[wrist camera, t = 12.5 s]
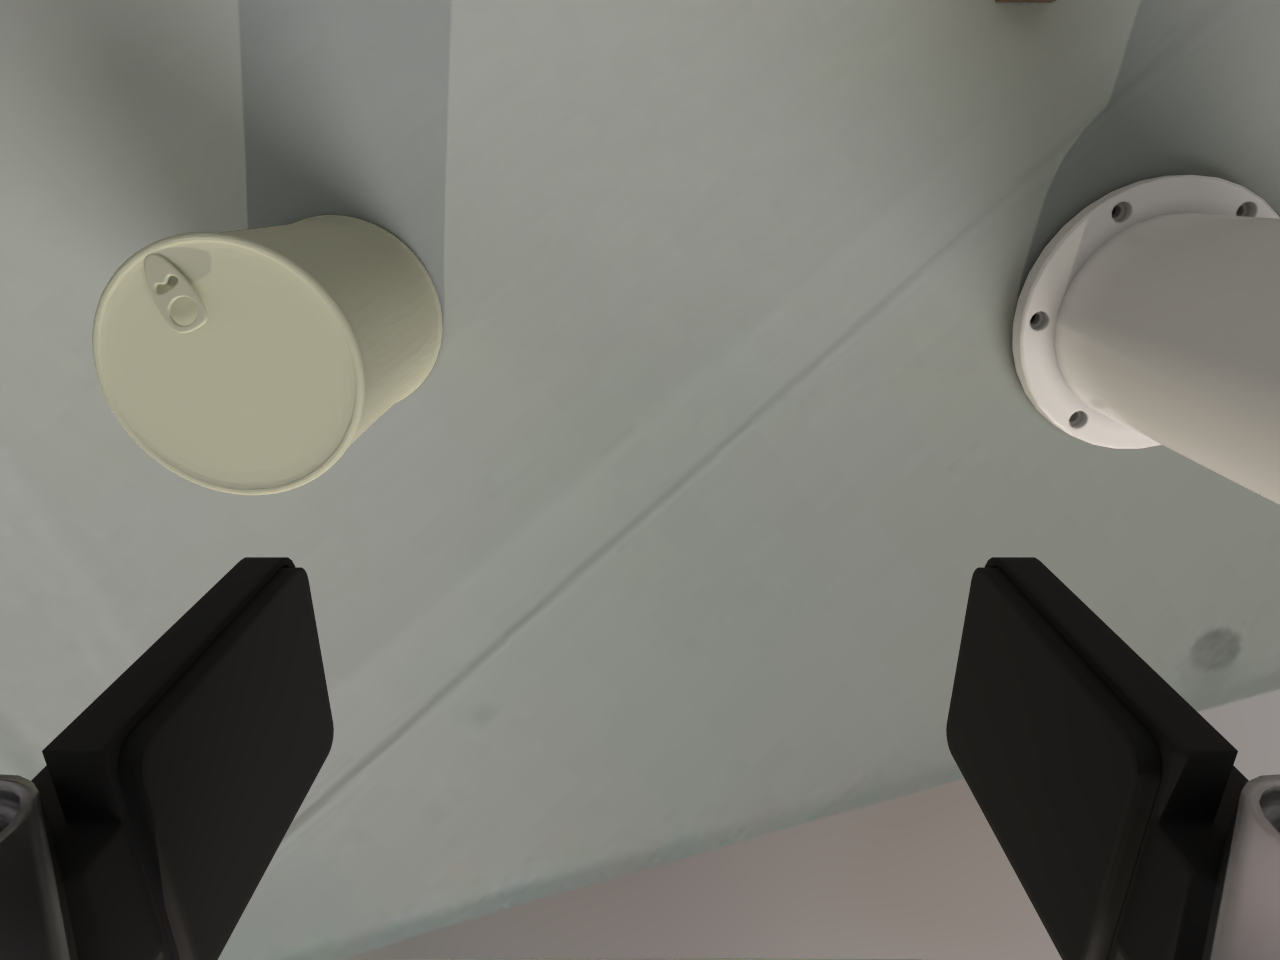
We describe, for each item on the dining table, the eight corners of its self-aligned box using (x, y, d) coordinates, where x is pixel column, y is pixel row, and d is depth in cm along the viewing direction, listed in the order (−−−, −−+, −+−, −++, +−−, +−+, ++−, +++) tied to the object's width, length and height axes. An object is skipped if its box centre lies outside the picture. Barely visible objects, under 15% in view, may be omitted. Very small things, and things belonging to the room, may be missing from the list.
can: (374, 177, 35) (250, 177, 24) (479, 359, 38) (412, 435, 27) (208, 271, 37) (18, 312, 25) (321, 440, 40) (196, 542, 28)
